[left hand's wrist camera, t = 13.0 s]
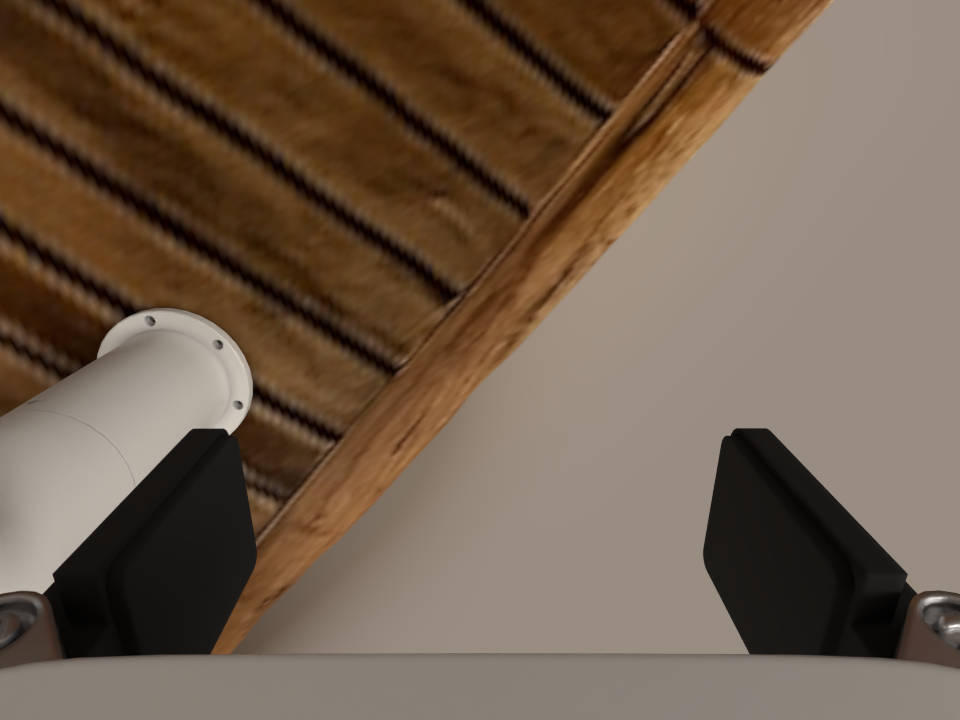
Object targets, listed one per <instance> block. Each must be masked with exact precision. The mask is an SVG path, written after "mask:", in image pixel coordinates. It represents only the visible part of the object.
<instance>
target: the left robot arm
mask: <svg viewBox="0 0 960 720" xmlns="http://www.w3.org/2000/svg"><path fill="white" fill-rule="evenodd" d="M153 318H154V319H155V320H154V319H153ZM219 340H220V341H221V342H222V343H223V344H222V343H220V341H219ZM252 396H253V381H252V377H251V372H250V368H249V366H248V363H247V361H246V359H245V356H244V355H243V353H242V352H241V350H240V349H239V347H238V346H237V344H236V343H235V342H234V341H233V340H232V339H231V338H230V336H229V335H228V334H227V333H226V332H224V331H223V330H222V329H221V328H219V327H218V326H217V325H215V324H214V323H213V322H211V321H209V320H207V319H205V318H203V317H202V316H200V315H197V314H194V313H191V312H188V311H185V310H180V309H174V308H153V309H148V310H143V311H140V312H138V313H135V314H133V315H131V316H129V317H127V318H125V319H124V320H122V321H120V322H119V323H117V324H116V325H115V326H114V327H113V328H112V329H111V330H110V331H109V332H108V333H107V335H106V336H105V338H104V339H103V341H102V343H101V346H100V348H99V351H98V354H97V359H96V360H95V361H93V362H91V363H90V364H88V365H86V366H85V367H83V368H81V369H80V370H78V371H76V372H75V373H73V374H71V375H70V376H68V377H66V378H65V379H63V380H62V381H60V382H58V383H57V384H55V385H53V386H52V387H50V388H48V389H47V390H45V391H43V392H42V393H40V394H38V395H37V396H35V397H33V398H32V399H30V400H28V401H27V402H25V403H23V404H22V405H20V406H18V407H17V408H15V409H13V410H12V411H10V412H8V413H7V414H5V415H3V416H2V417H0V720H960V594H958V593H952V592H945V591H925V592H922V593H920V594H917V593H916V592H915V591H914V590H913V589H912V588H911V587H910V585H909V584H908V583H907V582H906V578H907V575H908V574H907V573H906V572H905V571H904V570H903V569H902V568H901V567H900V566H899V564H898V563H897V562H896V561H895V560H894V559H893V558H892V557H891V556H890V555H889V554H888V553H887V552H886V551H885V550H884V549H883V548H882V547H881V546H880V545H879V544H878V543H877V542H876V540H875V539H874V538H873V537H872V536H871V535H870V534H869V533H868V532H867V531H866V530H865V529H864V528H863V527H862V526H861V525H860V524H859V523H858V522H857V521H856V520H855V519H854V518H853V517H852V515H851V514H850V513H849V512H848V511H847V510H846V509H845V508H844V507H843V506H842V505H841V504H840V503H839V502H838V501H837V500H836V499H835V498H834V497H833V496H832V495H831V494H830V493H829V492H828V490H827V489H825V487H824V486H823V485H822V484H821V483H820V482H819V481H818V480H817V479H816V478H815V477H814V476H813V475H812V474H811V473H810V472H809V471H808V470H807V469H806V468H805V467H804V465H803V464H802V463H801V462H800V461H799V460H798V459H797V458H796V457H795V456H794V455H793V454H792V453H791V452H790V451H789V450H788V449H787V448H786V447H785V446H784V445H783V444H782V443H781V441H780V440H779V439H778V438H777V437H776V436H775V435H774V434H773V433H772V432H771V431H770V430H768V429H765V428H737V429H735V430H733V432H732V434H731V436H725V437H724V438H723V440H722V444H721V449H720V455H719V461H718V467H717V473H716V478H715V484H714V490H713V496H712V502H711V508H710V513H709V519H708V525H707V531H706V537H705V543H704V549H703V558H704V564H705V567H706V570H707V572H708V574H709V576H710V578H711V580H712V582H713V584H714V585H715V587H716V589H717V591H718V593H719V595H720V597H721V599H722V601H723V603H724V605H725V607H726V609H727V611H728V613H729V615H730V617H731V619H732V621H733V622H734V624H735V626H736V628H737V630H738V632H739V634H740V636H741V638H742V640H743V642H744V644H745V646H746V648H747V650H748V652H749V654H560V653H556V654H555V653H430V654H429V653H425V654H424V653H422V654H212V655H210V654H211V652H212V650H213V648H214V646H215V644H216V642H217V640H218V638H219V636H220V634H221V632H222V630H223V628H224V626H225V624H226V623H227V621H228V619H229V617H230V615H231V613H232V611H233V609H234V607H235V605H236V603H237V601H238V599H239V597H240V595H241V593H242V591H243V589H244V587H245V585H246V584H247V582H248V580H249V578H250V576H251V574H252V572H253V570H254V567H255V564H256V558H257V549H256V543H255V537H254V531H253V525H252V519H251V513H250V508H249V502H248V496H247V490H246V484H245V478H244V472H243V467H242V461H241V455H240V449H239V444H238V440H237V438H236V437H235V436H229V435H230V434H231V433H232V432H233V431H234V430H235V429H236V428H237V427H238V426H239V425H240V423H241V422H242V421H243V419H244V418H245V416H246V414H247V412H248V410H249V408H250V405H251V400H252ZM241 402H242V403H241Z"/></svg>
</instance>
